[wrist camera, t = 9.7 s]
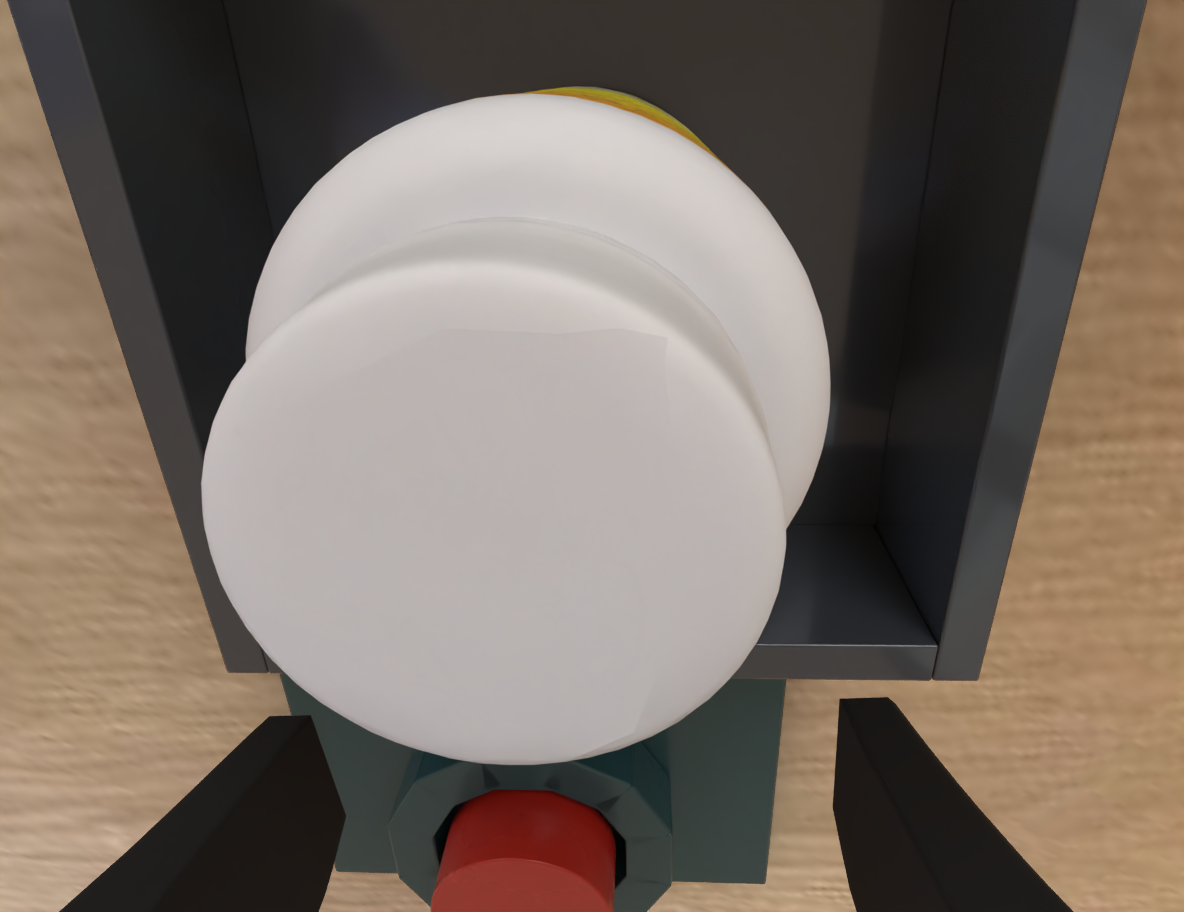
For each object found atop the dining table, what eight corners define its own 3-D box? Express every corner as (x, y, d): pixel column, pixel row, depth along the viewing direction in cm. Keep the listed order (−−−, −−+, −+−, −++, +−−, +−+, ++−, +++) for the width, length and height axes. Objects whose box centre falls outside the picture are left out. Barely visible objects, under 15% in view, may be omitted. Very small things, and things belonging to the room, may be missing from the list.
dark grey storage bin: (323, 535, 18) (226, 674, 14) (161, -171, 12) (-97, -308, 8) (895, 534, 17) (979, 682, 13) (1021, -229, 11) (1255, -419, 7)
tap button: (459, 893, 21) (442, 971, 19) (439, 782, 19) (417, 857, 17) (617, 898, 21) (616, 978, 19) (614, 785, 19) (611, 862, 17)
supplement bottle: (384, 170, 14) (-133, 342, 4) (671, 26, 12) (760, -136, 3) (519, 428, 16) (355, 900, 7) (775, 328, 15) (1004, 742, 5)
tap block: (344, 855, 24) (313, 935, 21) (280, 623, 20) (234, 693, 17) (762, 866, 23) (775, 951, 20) (785, 627, 19) (805, 700, 16)
